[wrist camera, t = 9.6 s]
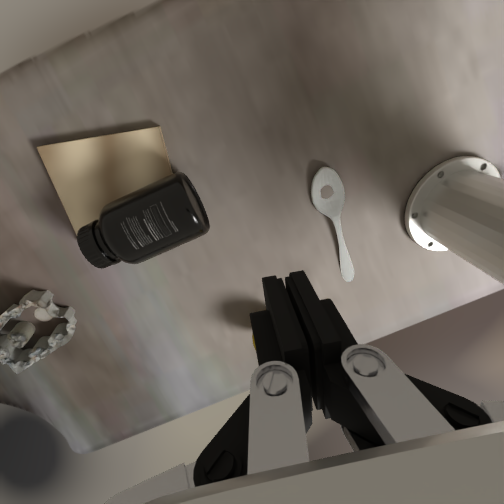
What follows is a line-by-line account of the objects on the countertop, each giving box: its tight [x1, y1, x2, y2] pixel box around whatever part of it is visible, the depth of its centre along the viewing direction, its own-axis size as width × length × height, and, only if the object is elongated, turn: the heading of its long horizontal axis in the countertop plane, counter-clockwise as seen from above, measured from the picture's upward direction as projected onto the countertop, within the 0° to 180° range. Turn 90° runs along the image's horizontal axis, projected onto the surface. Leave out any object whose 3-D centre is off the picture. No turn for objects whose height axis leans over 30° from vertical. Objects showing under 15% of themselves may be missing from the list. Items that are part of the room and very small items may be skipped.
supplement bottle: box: [77, 172, 210, 268], centre depth 32 cm, size 7×7×12 cm
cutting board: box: [37, 126, 173, 235], centre depth 33 cm, size 12×11×1 cm
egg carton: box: [0, 290, 77, 374], centre depth 38 cm, size 11×8×4 cm
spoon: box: [311, 167, 354, 282], centre depth 40 cm, size 4×21×2 cm, turn 21°
